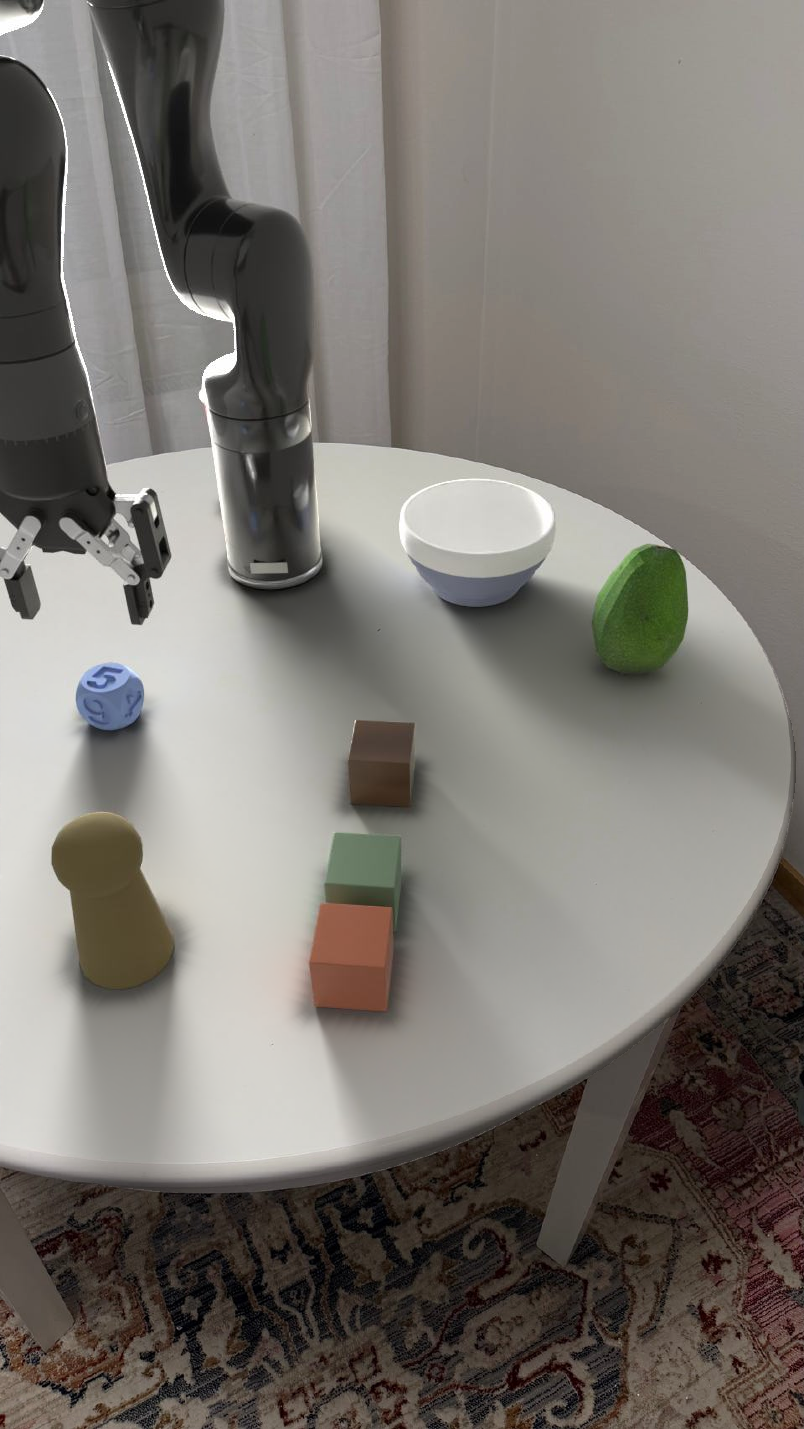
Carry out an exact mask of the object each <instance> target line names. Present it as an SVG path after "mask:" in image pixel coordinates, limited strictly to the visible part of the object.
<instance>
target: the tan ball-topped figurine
mask: <svg viewBox="0 0 804 1429" xmlns="http://www.w3.org/2000/svg"><path fill="white" fill-rule="evenodd" d="M143 845H144V844H143V840H142V837H141V835H140V833H139V832H138V830H137V828H136V827H135V826H134V824H133V823H132V822H130V820H128V819H126V818H125V817H123V816H122V815H120V814H116V813H113V812H110V811H96V812H95V811H94V812H90V813H89V812H88V813H85V814H83V815H80V816H78V817H75V818H74V819H72V820H71V821H70V822H68V823H66V824H65V825H64V826H63V827H62V828H61V829H60V830H59V832H58V833H57V835H56V837H55V839H54V841H53V843H52V846H51V858H50V860H51V862H50V864H51V867H52V869H53V872H54V874H55V876H56V879H57V880H58V881H59V883H60V884H61V885H62V887H65V889H67V890H68V891H69V897H70V902H71V903H70V904H71V909H72V910H71V911H72V918H73V924H74V931H75V938H76V939H75V940H76V947H77V954H78V961H79V962H78V963H79V966H80V969H81V971H82V973H83V975H84V977H85V978H86V979H88V980H89V981H90V982H91V983H92V984H93V985H96V986H98V987H101V988H103V989H106V990H107V989H108V990H125V989H130V988H135V987H138V986H140V985H142V984H144V983H146V982H149V981H151V980H152V979H153V978H155V977H156V976H157V975H158V974H160V973H161V972H162V971H163V970H164V969H165V967H166V966H167V964H168V963H169V961H170V960H171V958H172V955H173V951H174V948H175V940H174V939H175V938H174V934H173V931H172V929H171V927H170V925H169V923H168V921H167V919H166V917H165V915H164V913H163V911H162V909H161V907H160V904H159V903H158V901H157V899H156V897H155V894H154V892H153V891H152V888H151V887H150V885H149V883H148V881H147V879H146V877H145V875H144V872H143V871H142V869H141V866H142V863H143V861H144V860H143V859H144V858H143V857H144V846H143Z"/></svg>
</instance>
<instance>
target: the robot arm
mask: <svg viewBox="0 0 804 1429" xmlns="http://www.w3.org/2000/svg"><path fill="white" fill-rule="evenodd" d="M85 1H86V5H87V7H88V10H89V12H90V15H91V18H92V21H93V23H94V24H93V25H94V26H95V29H96V32H97V34H98V37H99V39H100V42H101V46H102V48H103V51H104V54H105V57H106V61H107V63H108V66H109V70H110V73H111V76H112V80H113V82H114V86H115V89H116V92H117V96H118V98H119V102H120V104H121V108H122V112H123V114H124V118H125V121H126V124H127V127H128V131H129V134H130V136H131V139H132V143H133V146H134V150H135V154H136V157H137V161H138V165H139V169H140V173H141V176H142V180H143V185H144V190H145V194H146V196H147V202H148V206H149V210H150V214H151V219H152V224H153V228H154V231H155V236H156V240H157V244H158V248H159V252H160V256H161V259H162V262H163V266H164V270H165V272H166V276H167V278H168V280H169V282H170V284H171V286H172V289H173V291H174V292H175V294H176V295H177V296H178V298H179V299H180V301H181V302H182V303H183V304H184V305H186V306H187V307H188V308H189V309H190V310H193V311H195V312H196V313H198V314H201V315H203V316H207V317H210V318H213V319H216V320H221V321H224V322H228V323H232V324H233V328H234V329H233V330H234V349H235V350H234V352H233V353H230V354H226V355H224V356H222V357H220V358H218V359H216V360H215V361H213V362H211V363H210V364H209V365H208V366H207V367H206V369H205V370H204V373H203V376H202V384H203V387H204V394H205V401H206V408H207V415H208V420H207V423H208V422H209V425H208V430H209V429H210V430H209V435H210V440H211V448H212V454H213V463H214V469H215V475H216V483H217V491H218V496H219V503H220V511H221V512H220V513H221V518H222V526H223V533H224V540H225V548H226V555H227V558H226V560H227V562H226V563H227V568H228V572H229V574H230V577H232V579H234V580H235V581H237V582H238V583H240V584H242V585H244V586H246V587H251V588H254V589H262V590H279V589H286V588H291V587H295V586H297V585H300V584H303V583H305V582H307V581H309V580H311V579H312V578H314V577H315V576H316V575H317V574H318V573H319V572H320V570H321V568H322V566H323V551H322V548H321V536H320V535H321V534H320V521H319V505H318V493H317V492H318V491H317V481H316V480H317V479H316V466H315V453H314V451H315V450H314V438H313V437H314V436H313V428H312V426H313V425H312V416H311V415H312V414H311V400H310V377H311V373H312V369H313V364H314V359H315V358H314V357H315V320H314V319H315V317H314V315H315V314H314V313H315V312H314V271H313V270H314V269H313V259H312V253H311V248H310V244H309V241H308V237H307V235H306V232H305V230H304V228H303V226H302V225H301V223H300V222H299V220H298V219H297V218H296V217H295V216H294V215H293V214H292V213H290V212H289V211H286V210H284V209H282V208H277V207H274V206H270V205H264V204H261V203H260V204H259V203H255V202H250V201H245V200H239V199H234V198H232V195H231V194H230V191H229V189H228V187H227V184H226V181H225V178H224V175H223V172H222V168H221V166H220V162H219V158H218V154H217V150H216V146H215V141H214V136H213V131H212V121H211V119H212V118H211V107H212V106H211V103H212V95H213V91H214V90H213V89H214V85H215V80H216V74H217V71H218V70H217V69H218V64H219V59H220V55H221V54H220V53H221V50H222V42H223V34H224V27H225V26H224V25H225V13H226V12H225V10H226V9H225V0H85ZM44 4H45V0H0V36H1V35H3V34H5V33H8V32H11V31H14V30H18V29H19V28H22V27H25V26H27V25H29V24H31V23H33V22H34V21H35V20H36V19H37V18H38V17H39V15H40V14H41V12H42V10H43V7H44ZM67 174H68V145H67V137H66V130H65V126H64V122H63V118H62V116H61V113H60V110H59V108H58V105H57V103H56V100H55V99H54V97H53V94H52V93H51V91H50V90H49V88H48V86H47V85H46V84H45V82H44V81H43V80H42V78H41V77H40V76H39V75H38V74H37V73H36V71H34V69H32V68H31V67H30V65H28V64H26V63H24V62H22V61H21V60H19V59H17V58H14V57H11V56H7V55H2V54H0V514H1V515H2V516H3V517H4V518H5V519H6V520H7V522H9V523H10V524H11V525H12V526H13V527H14V528H15V529H16V530H17V531H16V533H15V535H14V536H13V538H12V540H11V541H10V543H9V545H8V547H7V548H5V547H2V546H0V578H2V579H3V581H4V584H5V588H6V591H7V594H8V599H9V601H10V604H11V607H12V609H13V610H14V611H15V613H19V616H20V618H21V619H22V620H30V621H32V620H34V618H35V617H36V616H37V614H38V613H39V611H40V609H41V606H42V604H41V599H40V595H39V591H38V587H37V584H36V581H35V576H34V574H33V573H34V572H33V570H32V566H31V564H26V563H25V561H26V559H27V557H28V556H29V554H30V552H31V551H32V549H33V548H34V546H35V547H36V548H38V549H40V550H42V553H43V554H44V553H47V554H48V553H49V554H50V553H51V554H55V553H60V552H66V553H69V554H73V555H86V553H87V552H88V553H89V554H90V555H91V556H92V557H93V558H94V559H95V560H96V561H97V562H98V563H99V564H100V565H102V566H103V567H109V568H110V569H112V571H114V572H115V573H116V575H118V576H119V577H120V579H122V580H123V581H124V583H123V585H122V588H123V593H124V596H125V601H126V606H127V612H128V616H129V620H130V624H131V625H135V626H143V624H144V622H145V620H146V619H149V617H150V614H151V613H152V610H153V608H154V605H155V599H154V594H153V588H152V583H151V579H154V580H158V579H160V578H162V577H163V574H164V573H165V571H166V569H167V567H168V565H169V563H170V561H171V559H172V552H171V547H170V543H169V539H168V535H167V531H166V527H165V524H164V523H165V522H164V517H163V513H162V510H161V506H160V501H159V497H158V495H157V492H156V491H155V490H154V489H152V488H150V487H145V488H142V490H141V491H140V492H139V494H121V495H120V494H118V493H117V492H116V491H115V490H114V489H113V487H112V485H111V484H110V482H109V478H108V469H107V468H108V467H107V463H106V457H105V453H104V448H103V447H104V446H103V442H102V437H101V433H100V429H99V423H98V419H97V413H96V409H95V405H94V399H93V393H92V391H91V384H90V381H89V380H90V379H89V375H88V371H87V367H86V365H85V362H84V359H83V356H82V353H81V351H80V347H79V345H78V344H79V343H78V341H77V337H76V332H75V327H74V326H75V325H74V321H73V316H72V312H71V308H70V302H69V298H68V294H67V289H66V284H65V280H64V272H63V264H64V263H63V261H64V260H63V259H64V258H63V257H64V237H65V236H64V234H65V206H66V205H65V204H66V191H67V190H66V189H67V186H66V185H67ZM207 415H206V416H207ZM117 514H119V515H121V516H122V517H123V518H124V519H125V521H126V523H127V526H128V527H129V528H131V529H134V531H135V535H136V539H137V543H138V546H139V548H138V546H136V545H135V544H134V542H132V541H131V537H130V534H129V532H127V530H126V529H125V528H124V527H123V526H121V525H120V523H119V522H118V521H117V520H115V516H116V515H117ZM103 536H106V538H107V539H108V544H107V543H106V542H104V540H103Z"/></svg>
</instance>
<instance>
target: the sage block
mask: <svg viewBox="0 0 804 1429" xmlns="http://www.w3.org/2000/svg"><path fill="white" fill-rule="evenodd" d="M330 845H331V846H330V850H329V856H328V862H327V866H326V871H325V877H324V883H323V886H324V897H325V903H330V904H346V905H362V906H378V907H392V911H393V933H396V932H397V927H398V917H399V909H400V900H401V892H402V884H403V883H402V882H403V866H402V864H403V863H402V860H403V859H402V836H401V835H394V834H393V835H392V834H373V833H360V832H359V833H358V832H343V831H342V832H341V831H340V832H339V831H334V832H333V835H332V840H331V844H330Z"/></svg>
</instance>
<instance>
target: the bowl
mask: <svg viewBox="0 0 804 1429" xmlns="http://www.w3.org/2000/svg"><path fill="white" fill-rule="evenodd" d="M399 516H400V517H399V526H398V528H399V536H400V541H401V545H402V548H403V549H404V552H405V553H406V555H407V557H408V559H409V560H410V562H411V564H412V565H413V566H414V567H415V568H416V569H415V570H416V571H417V573H418V574H419V576H420V577H421V578H422V580H424V581H425V582H426V583H428V585H429V586H430V588H431V590H432V591H433V592H434V594H436V595H437V596H438V597H439V598H441V599H443V600H444V601H446V602H449V603H451V604H454V605H458V606H463V607H469V608H471V607H473V608H481V607H489V606H495V605H498V604H502V603H504V602H506V601H508V600H510V599H511V598H513V597H514V596H515V595H516V594H517V593H518V591H519V590H520V589H521V587H522V586H524V585H525V584H527V582H528V581H530V580H531V579H532V577H533V576H534V575H535V573H536V571H537V570H538V569H539V568H540V567H541V566H542V564H543V563H544V562H545V560H546V558H547V557H548V555H549V554H550V552H551V551H552V549H553V544H554V541H555V536H556V530H557V529H556V526H557V525H556V513H555V511H554V509H553V507H552V505H551V504H550V503H549V502H548V501H547V500H546V499H545V498H544V497H542V496H541V495H540V494H538V493H537V492H535V491H533V490H532V489H529V488H527V487H525V486H521V485H519V484H516V483H512V482H508V481H503V480H497V479H489V478H463V479H454V480H448V481H442V482H439V483H435V484H432V485H430V486H427V487H425V488H422V489H420V490H419V491H417V492H416V493H414V494H412V495H411V496H410V497H409V498H408V500H406V501H405V503H404V504H403V506H402V508H401V509H400V515H399Z"/></svg>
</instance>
